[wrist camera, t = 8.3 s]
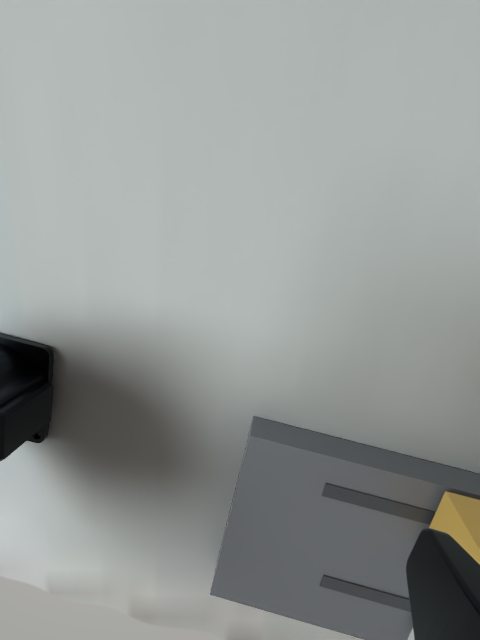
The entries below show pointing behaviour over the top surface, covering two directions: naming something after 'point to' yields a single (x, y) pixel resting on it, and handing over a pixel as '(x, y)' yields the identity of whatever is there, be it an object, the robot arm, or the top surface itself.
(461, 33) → the top surface
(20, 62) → the top surface
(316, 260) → the top surface
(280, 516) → the grey slotted board
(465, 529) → the amber slider
